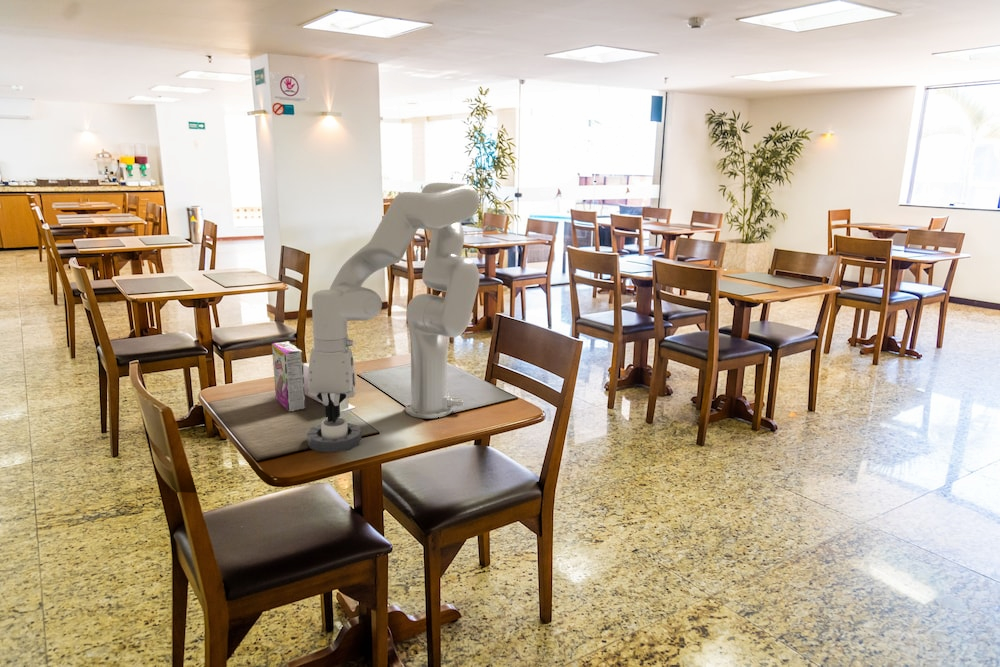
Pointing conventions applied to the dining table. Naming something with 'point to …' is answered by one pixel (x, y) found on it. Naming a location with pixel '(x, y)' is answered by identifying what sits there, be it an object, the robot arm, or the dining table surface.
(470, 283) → the robot arm
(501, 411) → the dining table surface
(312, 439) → the gray notched ring
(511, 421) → the dining table surface
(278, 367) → the candy bar box
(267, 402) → the dining table surface
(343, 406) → the long white box
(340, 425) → the white short cylinder
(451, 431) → the dining table surface
